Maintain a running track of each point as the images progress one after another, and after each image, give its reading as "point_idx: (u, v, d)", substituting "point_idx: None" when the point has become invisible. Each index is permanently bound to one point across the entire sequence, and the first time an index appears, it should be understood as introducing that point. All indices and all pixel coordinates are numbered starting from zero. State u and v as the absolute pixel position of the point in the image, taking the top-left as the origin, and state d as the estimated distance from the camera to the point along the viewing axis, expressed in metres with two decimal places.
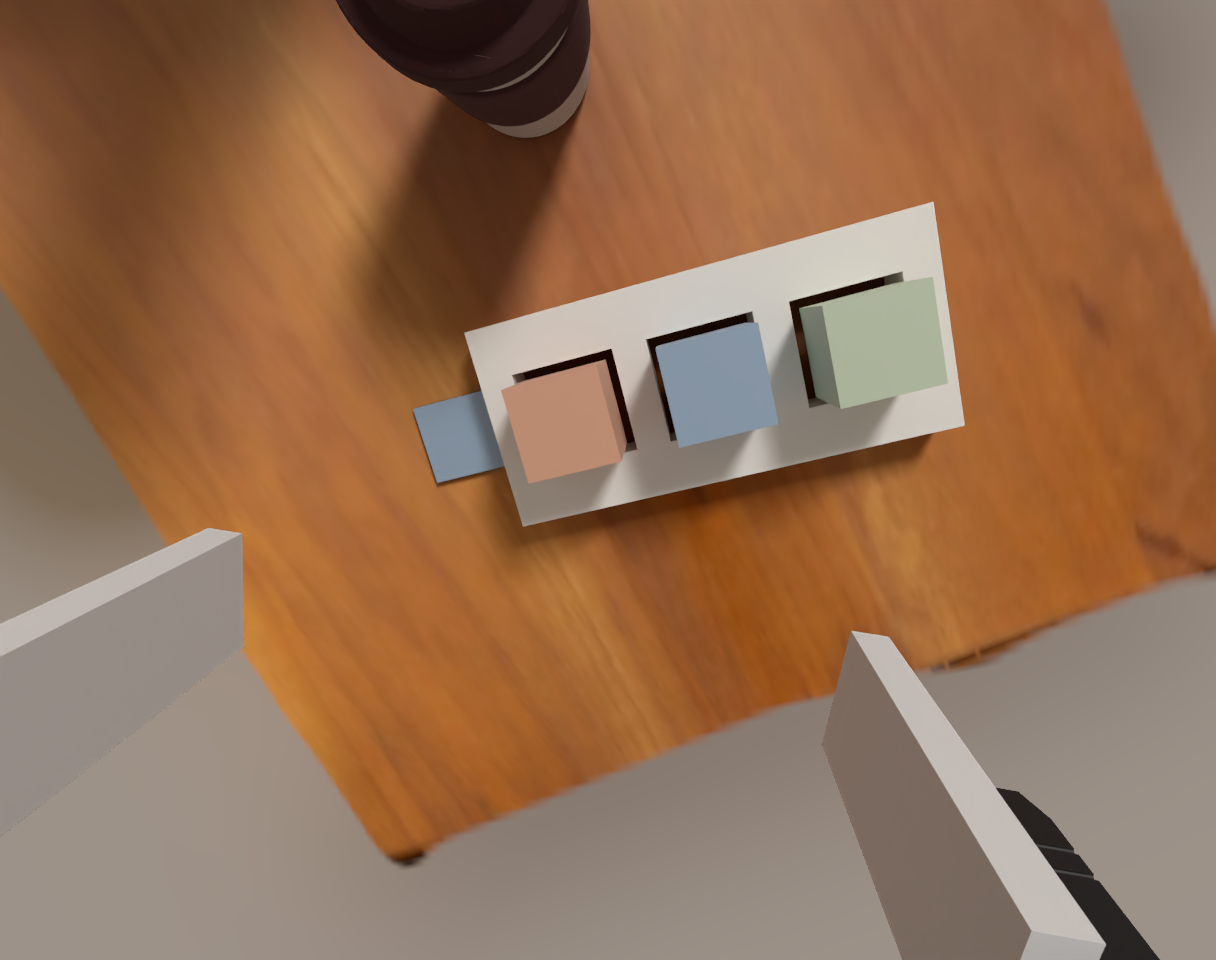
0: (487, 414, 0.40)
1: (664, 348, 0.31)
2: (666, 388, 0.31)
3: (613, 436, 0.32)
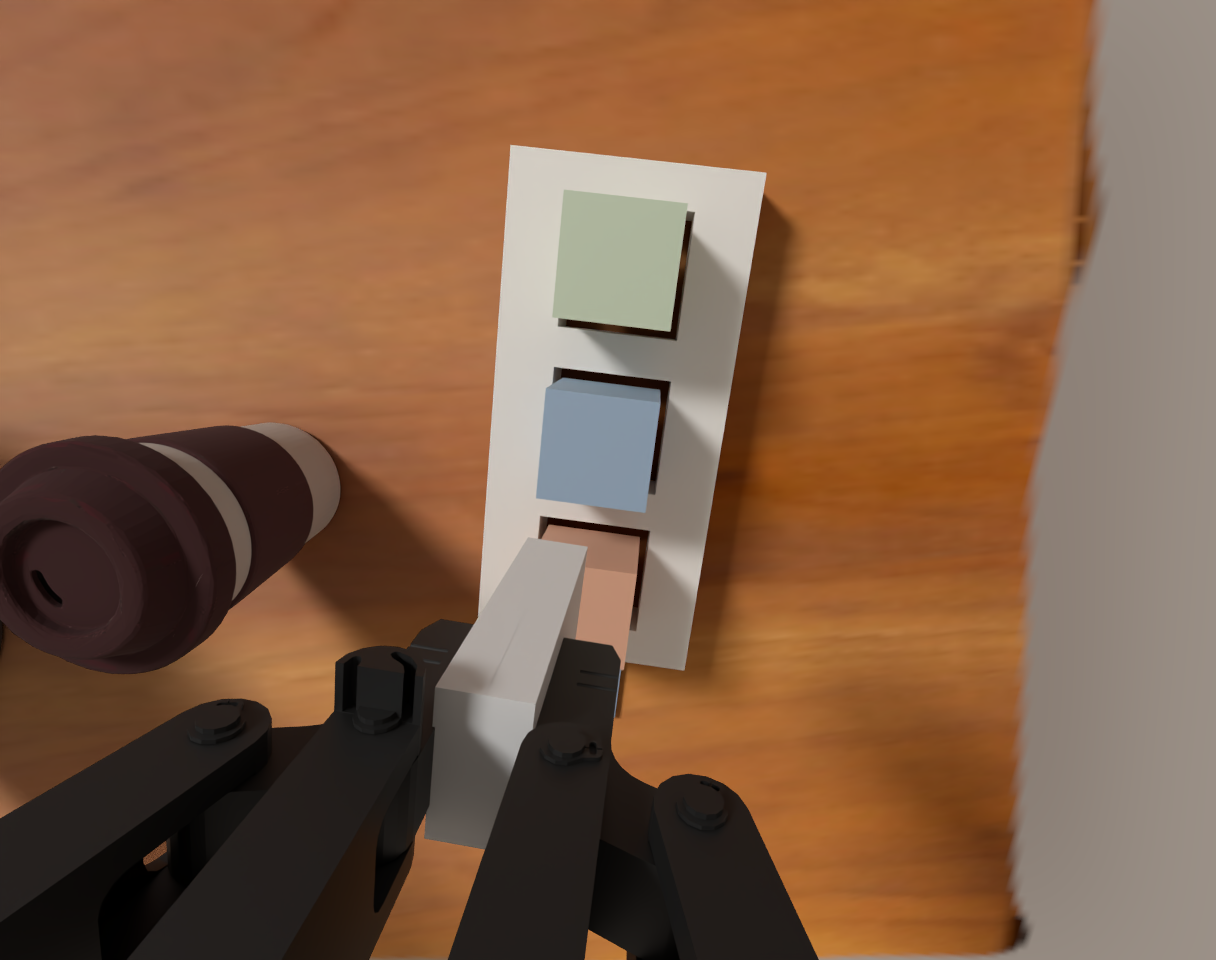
0: None
1: (538, 489, 0.29)
2: (578, 502, 0.29)
3: (607, 572, 0.29)
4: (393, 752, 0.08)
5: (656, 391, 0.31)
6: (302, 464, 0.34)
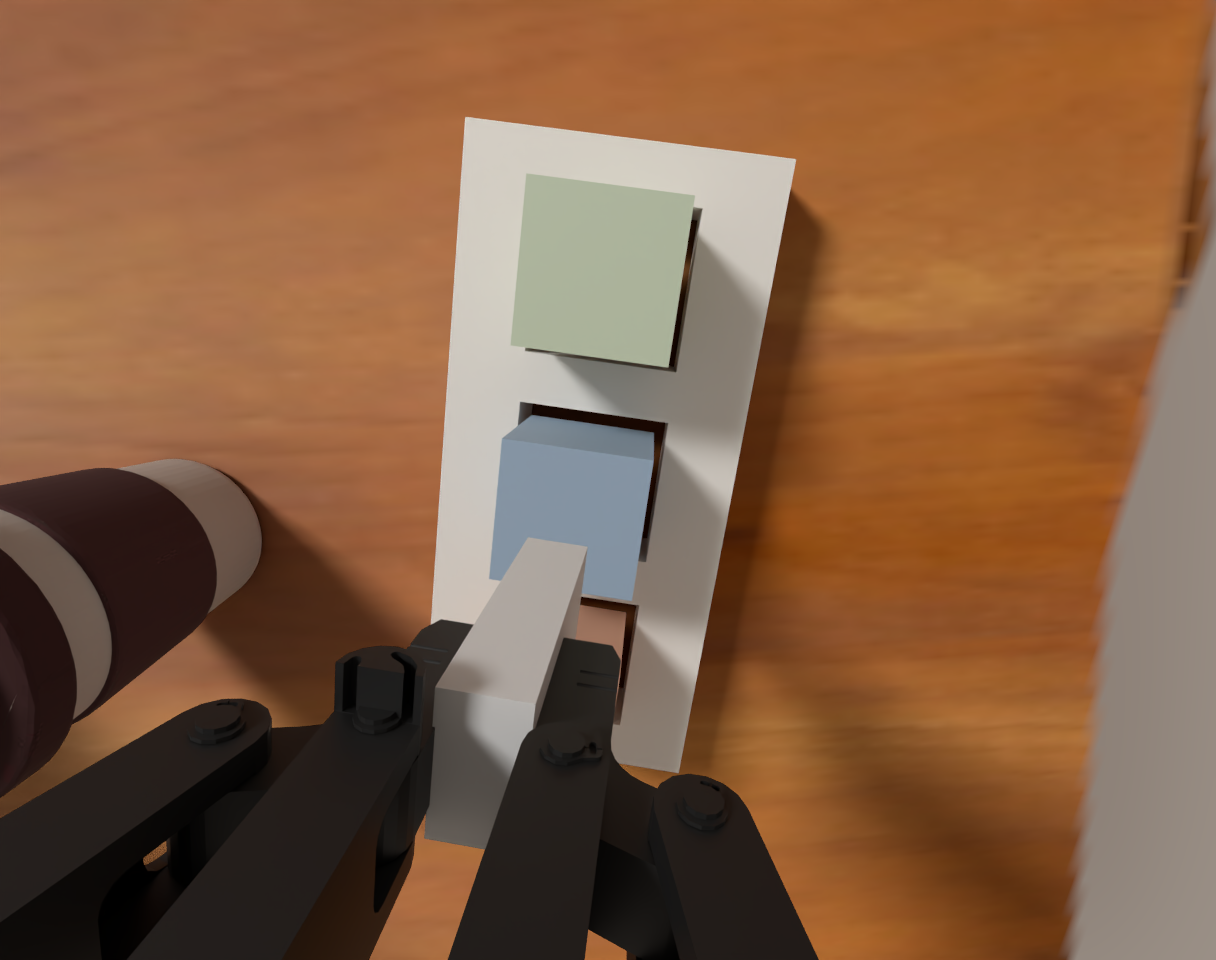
0: None
1: (491, 567, 0.22)
2: None
3: None
4: (393, 752, 0.08)
5: (649, 436, 0.24)
6: (204, 516, 0.27)
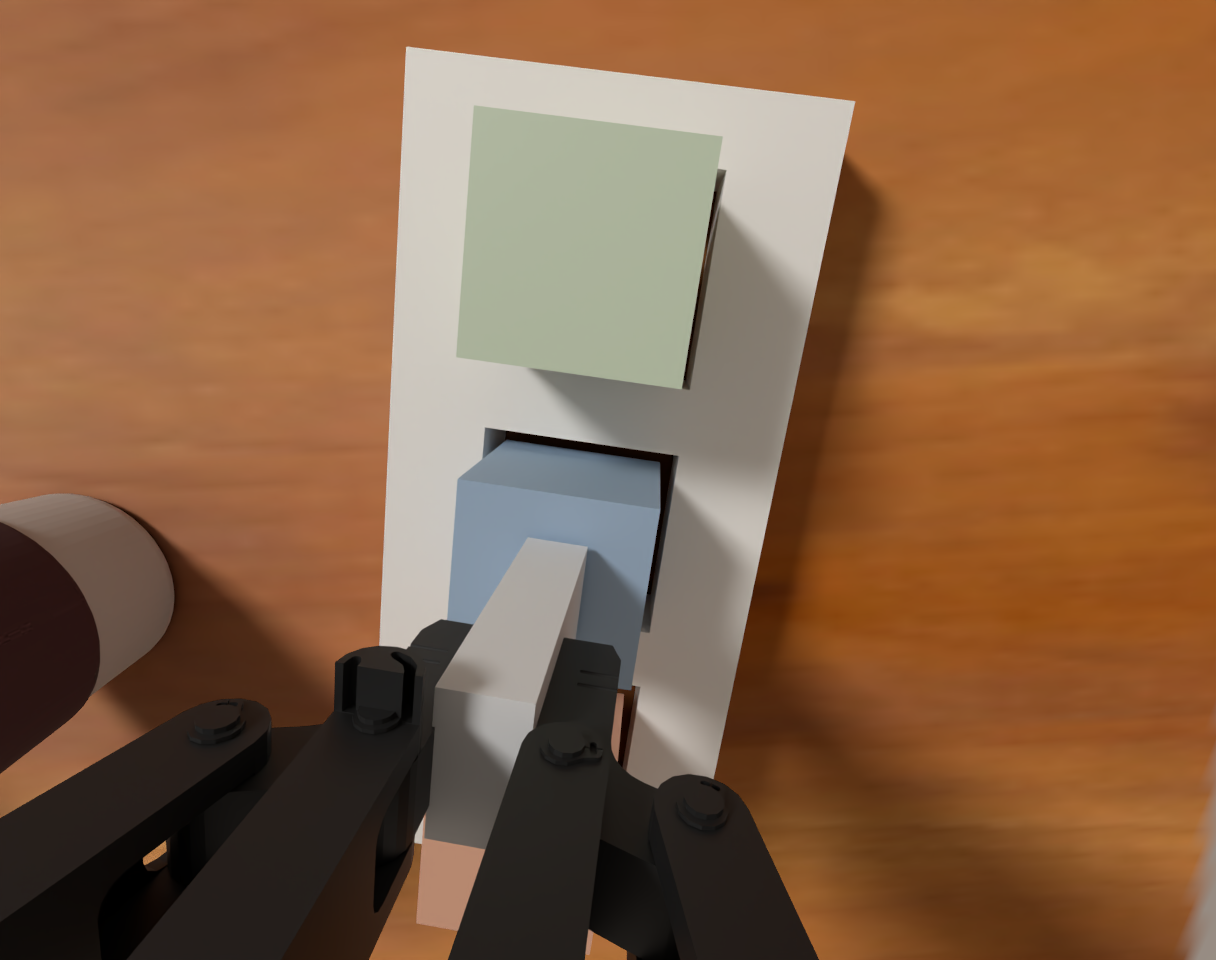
0: None
1: None
2: None
3: None
4: (393, 752, 0.08)
5: (654, 468, 0.19)
6: (84, 571, 0.21)
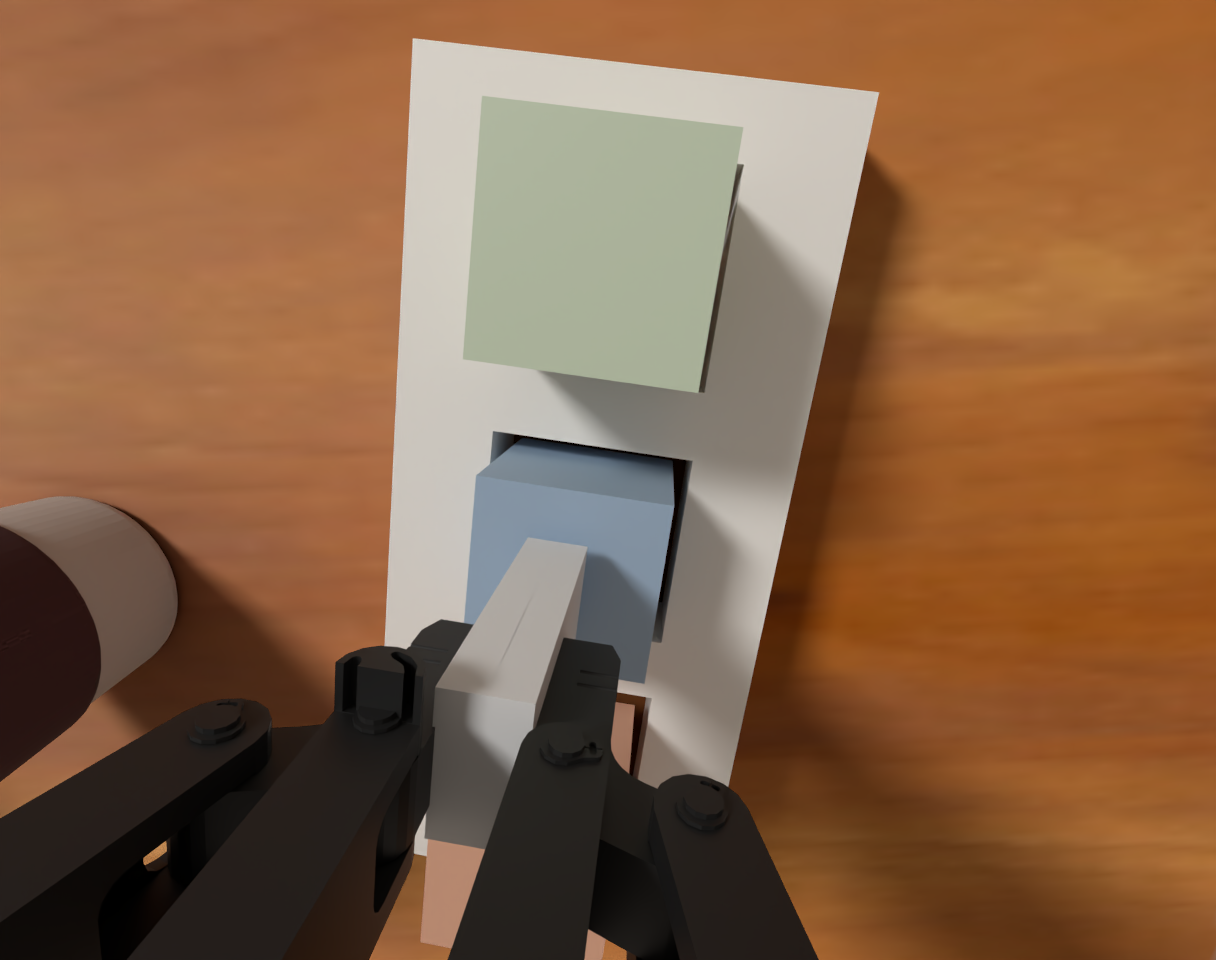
0: None
1: None
2: None
3: None
4: (393, 752, 0.08)
5: (667, 466, 0.20)
6: (85, 576, 0.21)
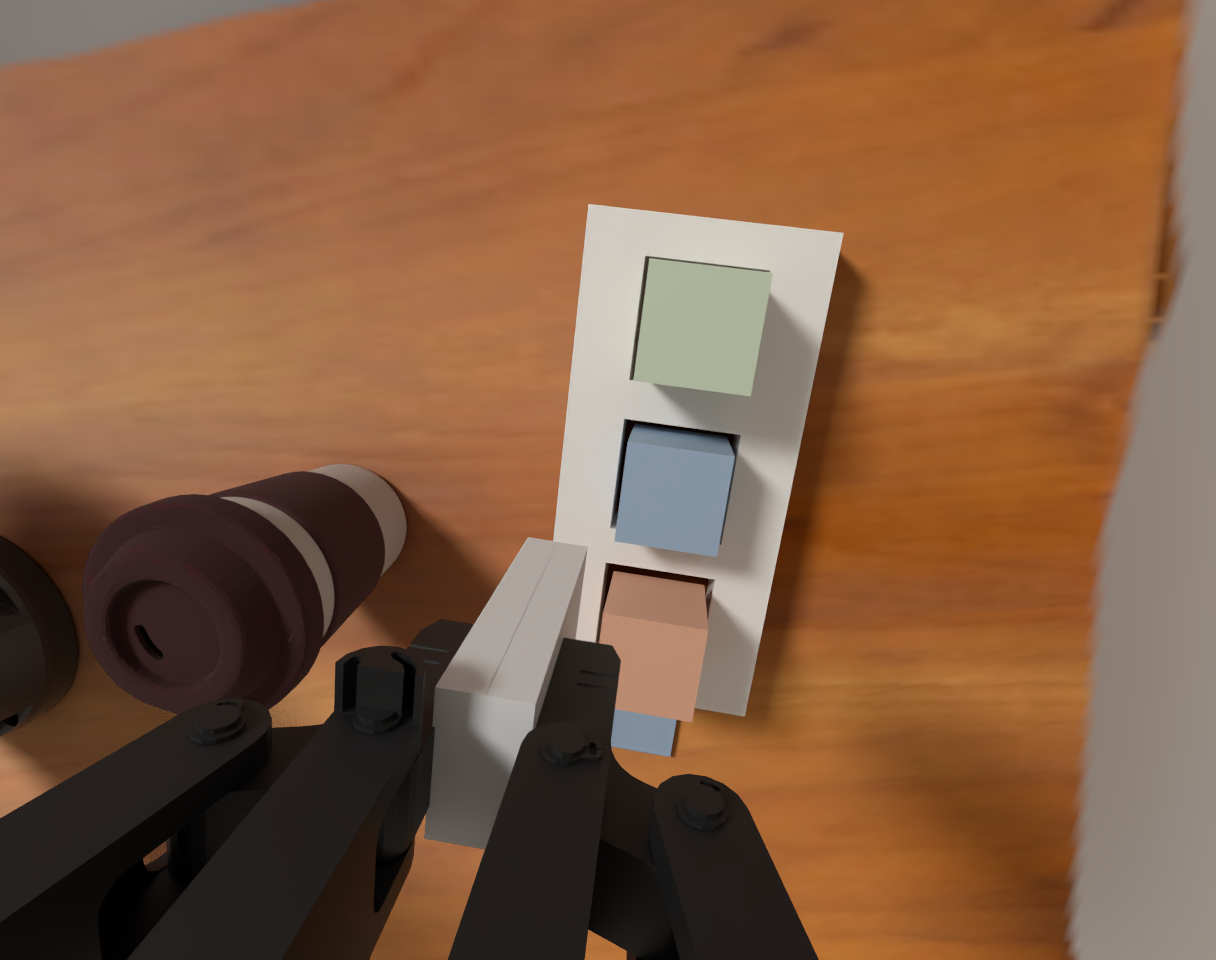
0: None
1: (616, 533, 0.31)
2: (654, 546, 0.31)
3: (679, 627, 0.30)
4: (394, 752, 0.08)
5: (724, 439, 0.33)
6: (374, 508, 0.35)
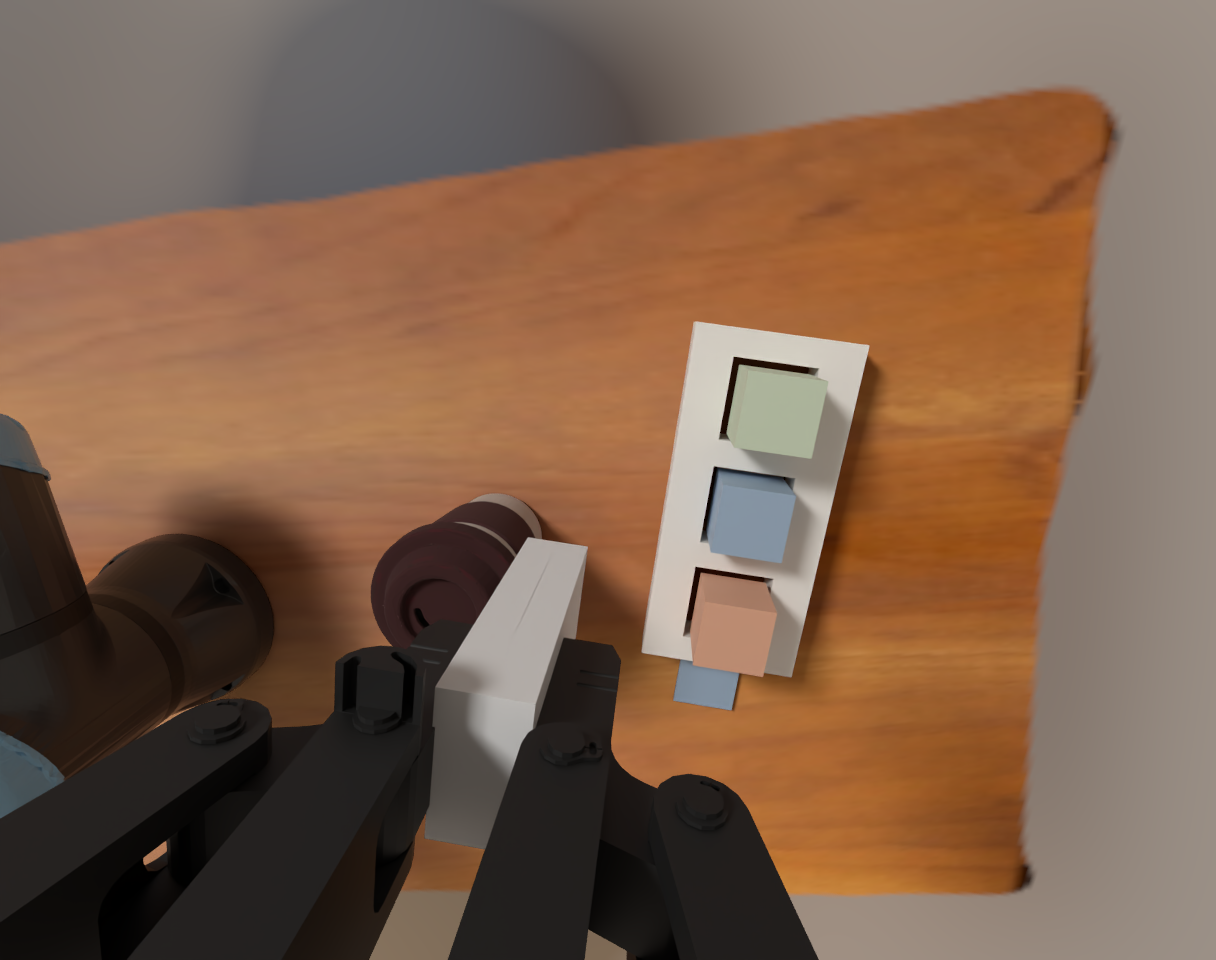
0: None
1: (712, 546, 0.45)
2: (738, 555, 0.45)
3: (757, 611, 0.44)
4: (393, 752, 0.08)
5: (782, 480, 0.47)
6: (530, 527, 0.48)
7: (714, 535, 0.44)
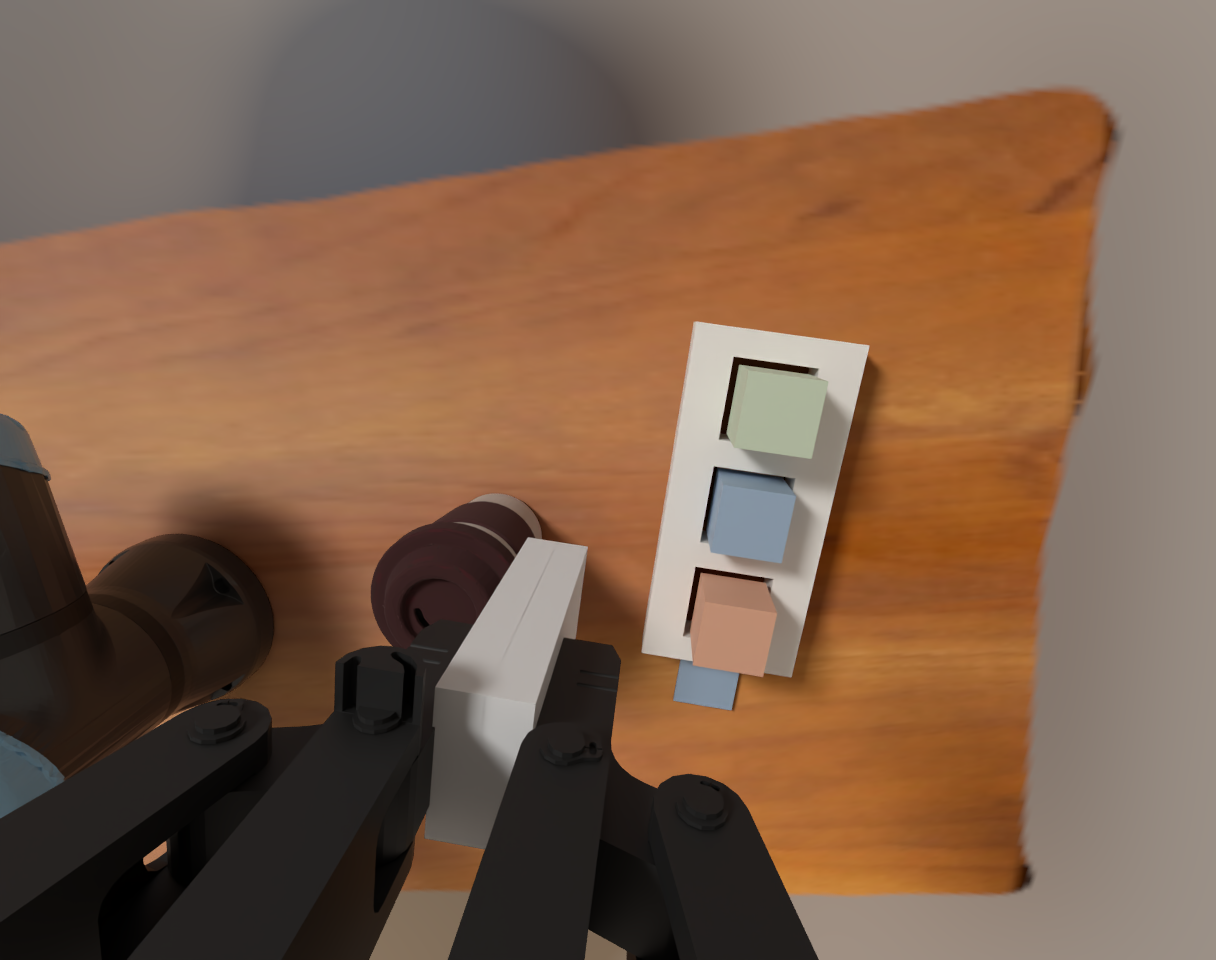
0: None
1: (712, 546, 0.45)
2: (738, 555, 0.45)
3: (757, 611, 0.44)
4: (394, 752, 0.08)
5: (782, 480, 0.47)
6: (530, 527, 0.48)
7: (714, 535, 0.44)
